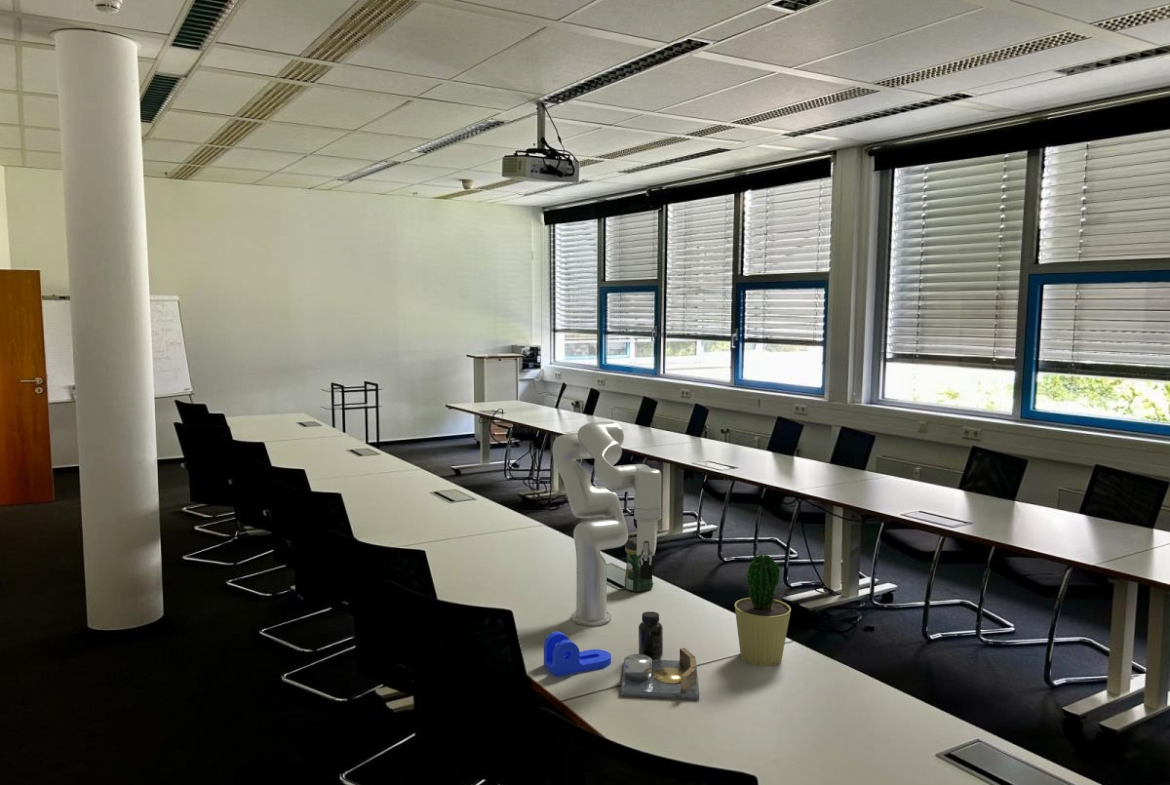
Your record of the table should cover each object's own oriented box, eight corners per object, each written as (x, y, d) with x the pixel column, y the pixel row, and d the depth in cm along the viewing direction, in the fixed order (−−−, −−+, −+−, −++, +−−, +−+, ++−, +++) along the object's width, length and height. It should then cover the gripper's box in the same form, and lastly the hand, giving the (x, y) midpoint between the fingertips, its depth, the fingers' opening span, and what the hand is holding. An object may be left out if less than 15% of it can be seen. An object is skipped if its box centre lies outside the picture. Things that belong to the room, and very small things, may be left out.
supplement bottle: (660, 650, 232) (661, 609, 231) (664, 660, 225) (664, 618, 224) (637, 650, 232) (637, 609, 231) (639, 660, 225) (640, 618, 224)
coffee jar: (643, 583, 291) (644, 532, 289) (656, 589, 284) (656, 538, 282) (620, 587, 286) (621, 536, 285) (632, 594, 280) (633, 541, 278)
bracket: (555, 677, 214) (555, 644, 213) (543, 665, 222) (543, 633, 221) (616, 666, 222) (616, 634, 221) (602, 654, 229) (603, 623, 228)
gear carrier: (624, 663, 223) (624, 644, 222) (695, 666, 221) (696, 647, 220) (621, 696, 203) (621, 675, 203) (699, 700, 202) (699, 678, 201)
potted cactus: (748, 672, 218) (751, 563, 215) (724, 649, 233) (726, 547, 230) (799, 666, 222) (803, 559, 219) (772, 644, 237) (775, 544, 234)
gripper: (636, 506, 234) (636, 564, 235) (631, 519, 217) (631, 582, 218) (662, 507, 233) (662, 565, 234) (659, 520, 216) (659, 583, 217)
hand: (647, 573), depth 226 cm, fingers open, 9 cm apart
